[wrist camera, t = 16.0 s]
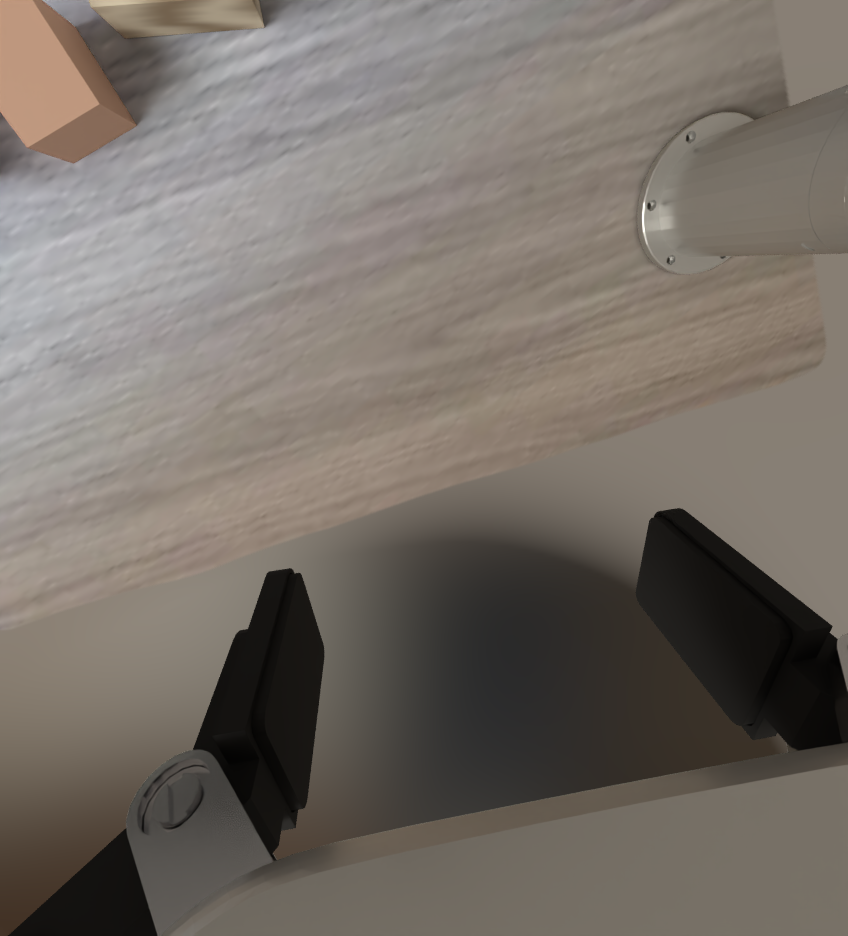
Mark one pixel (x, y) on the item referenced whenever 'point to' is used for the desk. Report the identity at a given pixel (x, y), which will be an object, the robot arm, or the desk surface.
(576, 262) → the desk surface
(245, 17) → the birch block
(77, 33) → the terracotta block
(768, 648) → the robot arm
